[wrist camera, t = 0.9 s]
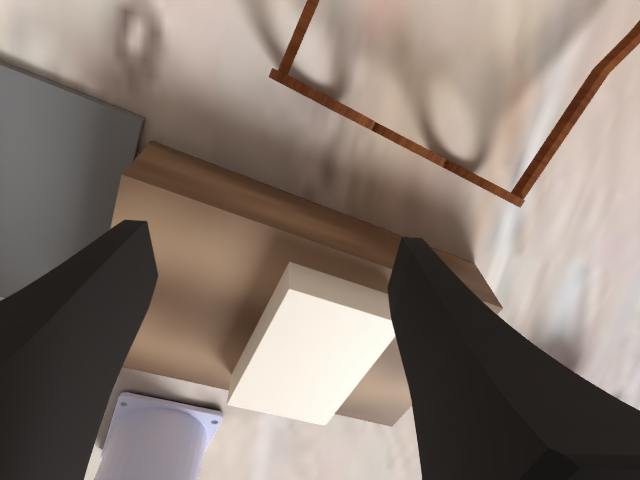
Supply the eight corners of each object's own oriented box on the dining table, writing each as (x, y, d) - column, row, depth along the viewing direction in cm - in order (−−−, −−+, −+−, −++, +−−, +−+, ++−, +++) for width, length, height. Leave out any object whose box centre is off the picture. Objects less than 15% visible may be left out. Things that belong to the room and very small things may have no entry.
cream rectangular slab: (322, 395, 25) (325, 425, 23) (231, 374, 23) (226, 404, 22) (395, 296, 21) (404, 324, 19) (289, 261, 19) (289, 288, 17)
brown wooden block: (381, 377, 31) (391, 426, 27) (111, 307, 25) (83, 358, 22) (474, 264, 25) (502, 308, 22) (150, 140, 19) (121, 174, 16)
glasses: (267, 73, 18) (260, 101, 14) (433, -324, 12) (505, -476, 8) (481, 185, 22) (525, 233, 18) (688, -74, 16) (825, -91, 12)
